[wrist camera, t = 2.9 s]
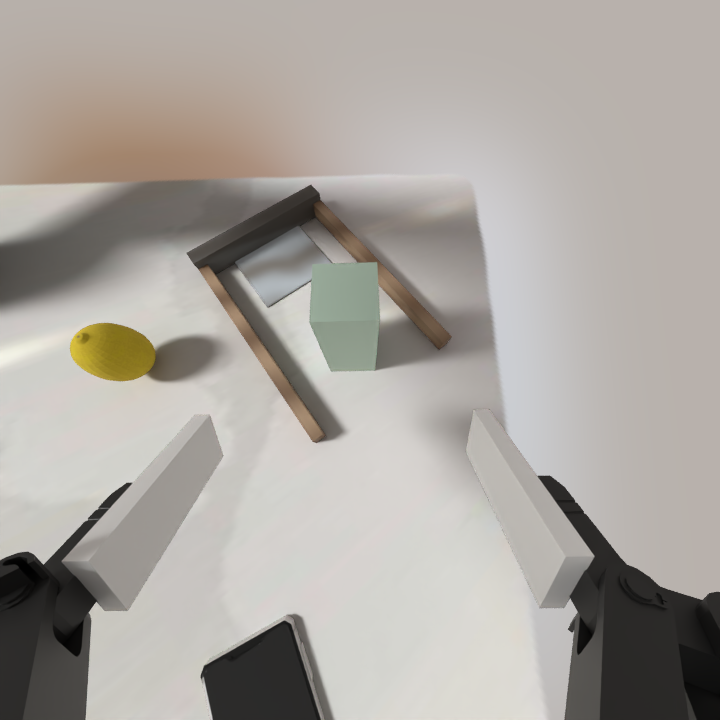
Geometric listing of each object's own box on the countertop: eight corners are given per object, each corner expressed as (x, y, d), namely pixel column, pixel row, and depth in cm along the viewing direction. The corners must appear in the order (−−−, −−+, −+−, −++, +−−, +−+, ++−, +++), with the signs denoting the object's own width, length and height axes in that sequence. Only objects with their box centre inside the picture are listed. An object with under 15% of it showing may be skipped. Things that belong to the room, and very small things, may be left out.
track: (200, 269, 36) (186, 253, 33) (314, 204, 39) (310, 184, 36) (316, 442, 28) (310, 441, 25) (446, 343, 31) (454, 332, 28)
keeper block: (330, 371, 30) (309, 322, 19) (331, 331, 32) (312, 264, 21) (375, 370, 30) (379, 320, 19) (373, 330, 32) (377, 262, 21)
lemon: (181, 353, 32) (123, 321, 24) (151, 396, 30) (79, 376, 22) (143, 336, 32) (76, 300, 25) (113, 377, 31) (30, 352, 23)
